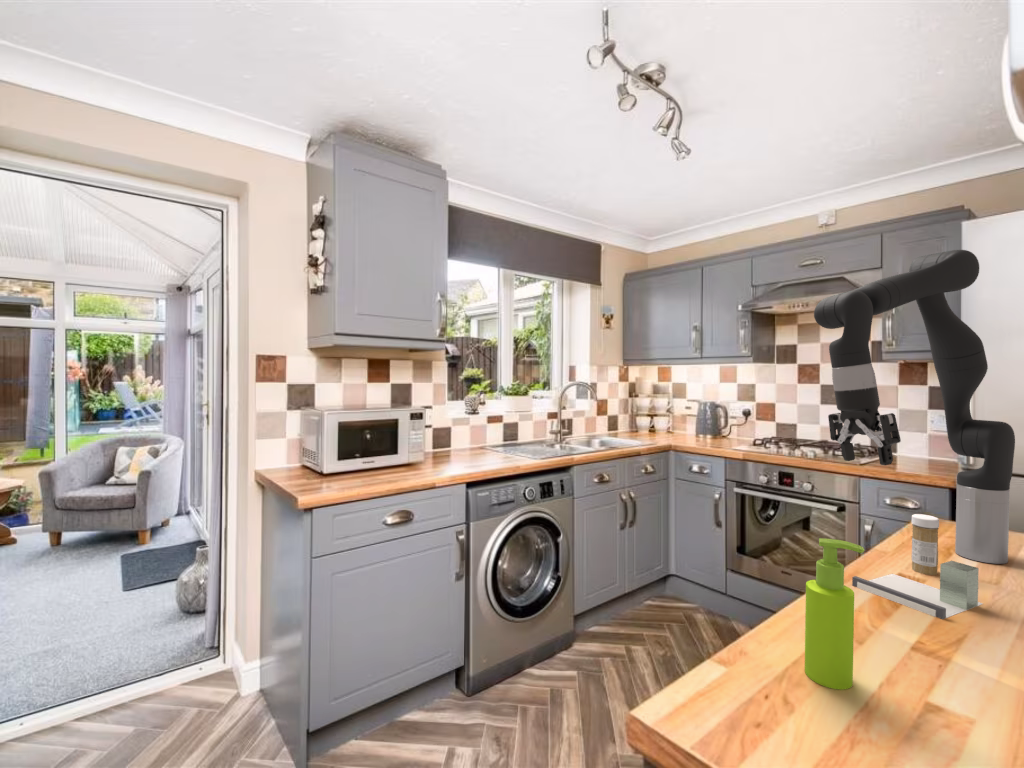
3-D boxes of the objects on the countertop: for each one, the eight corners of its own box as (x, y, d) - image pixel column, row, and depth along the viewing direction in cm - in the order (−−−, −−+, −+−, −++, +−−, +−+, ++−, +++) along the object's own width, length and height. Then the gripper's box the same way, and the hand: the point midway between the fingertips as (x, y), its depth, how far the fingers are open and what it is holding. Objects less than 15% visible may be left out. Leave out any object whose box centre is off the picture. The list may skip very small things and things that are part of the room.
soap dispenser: (863, 697, 66) (866, 552, 66) (804, 680, 70) (806, 542, 70) (859, 675, 71) (862, 539, 71) (804, 660, 75) (807, 531, 75)
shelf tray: (892, 580, 105) (892, 565, 104) (982, 611, 91) (983, 594, 91) (851, 592, 99) (851, 577, 99) (942, 627, 85) (942, 609, 85)
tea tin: (950, 596, 94) (951, 560, 94) (977, 605, 90) (978, 568, 90) (939, 600, 92) (940, 563, 92) (966, 610, 88) (967, 571, 88)
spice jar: (939, 578, 106) (940, 516, 106) (936, 584, 103) (938, 520, 103) (912, 571, 109) (913, 512, 109) (908, 577, 106) (910, 516, 106)
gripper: (901, 382, 97) (915, 463, 97) (841, 385, 111) (852, 456, 111) (870, 387, 96) (884, 469, 96) (813, 390, 110) (824, 461, 110)
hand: (867, 462), depth 103 cm, fingers open, 8 cm apart
